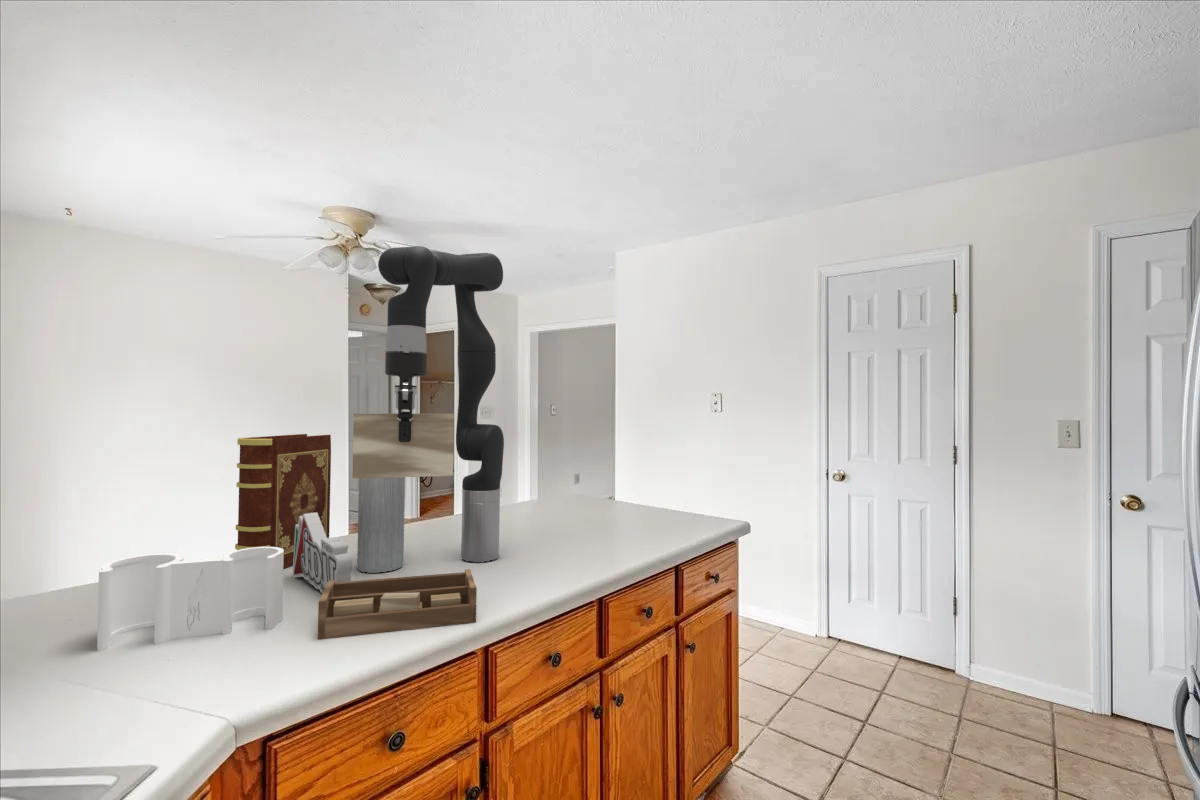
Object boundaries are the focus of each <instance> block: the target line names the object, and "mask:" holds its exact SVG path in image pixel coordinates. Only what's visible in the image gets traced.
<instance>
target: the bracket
mask: <svg viewBox="0 0 1200 800" xmlns="http://www.w3.org/2000/svg"><path fill="white" fill-rule="evenodd" d="M283 560H284V550H283V549H282V548H278V547H254V548H246V549H241V550H237V549H235V550H233V551H229V552H227V553H226V554H223V556H222V558H221V557H220V558H207V559H196V560H195V559H194V560H184V556H183V555H182V554H179V553H173V552H168V553H167V552H166V553H165V552H160V553H159V552H158V553H146V554H139V555H133V556H127V557H123V558H118V559H115V560H111V561H108V562H106V563H104V564H102V566H101V567H100V570H99V571H98V595H97V596H98V597H97V598H98V600H97V641H96V643H97V645H96V650H97V651H98V652H99V651H100V652H101V651H106V650H109V648H111V647H112V646H113V645H112V644H113V641H112V638H114V637H116V636H118V635H121V634H124V633H126V632H129V631H133V630H137V629H142V628H149V627H154V638H153V639H154V641H153V644H155V645H159V644H162V643H166V642H168V641H169V640H176V639H183V638H193V637H203V636H211V635H217V634H218V635H220V634H221V635H229V634H231V633H232V632H233V623H234V622H236V621H240V620H242V619H246V618H247V619H248V618H250V617H257V616H258V617H260V616H265V622H264V623H265V624H264V625H265V628H264V629H265V630H271V629H274V628H275V626H277V625H278V624H280V623H281V622H282V620H283V610H284V609H283V607H284V605H283V602H284V601H283V600H284V599H283V597H284V594H283V593H284V569H283Z"/></svg>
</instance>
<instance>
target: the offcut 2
mask: <svg viewBox="0 0 1200 800" xmlns="http://www.w3.org/2000/svg"><path fill="white" fill-rule="evenodd" d="M450 605H461V597H460V593H452V594H441V595H431V607H440V606H450Z"/></svg>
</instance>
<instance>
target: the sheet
mask: <svg viewBox="0 0 1200 800" xmlns="http://www.w3.org/2000/svg"><path fill="white" fill-rule="evenodd" d="M397 414H398V413H394V412H392V413H389V412H388V413H386V412H385V413H382V412H381V413H380V412H379V413H375V412H373V413H370V412H367V413H365V412H363V413H361V412H358V413H357V412H354V413H353V428H352V432H353V434H352V435H353V436H352V438H353V439H352V477H351V478H352V479H359V478H388V477H405V478H420V477H421V478H422V477H423V478H424V477H425V478H426V477H453V476H454V442H455V441H454V440H455V439H454V434H455V429H454V428H455V413H413V420H412V422H411V441H410V442H400V441H399V422H398V417H397Z"/></svg>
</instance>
